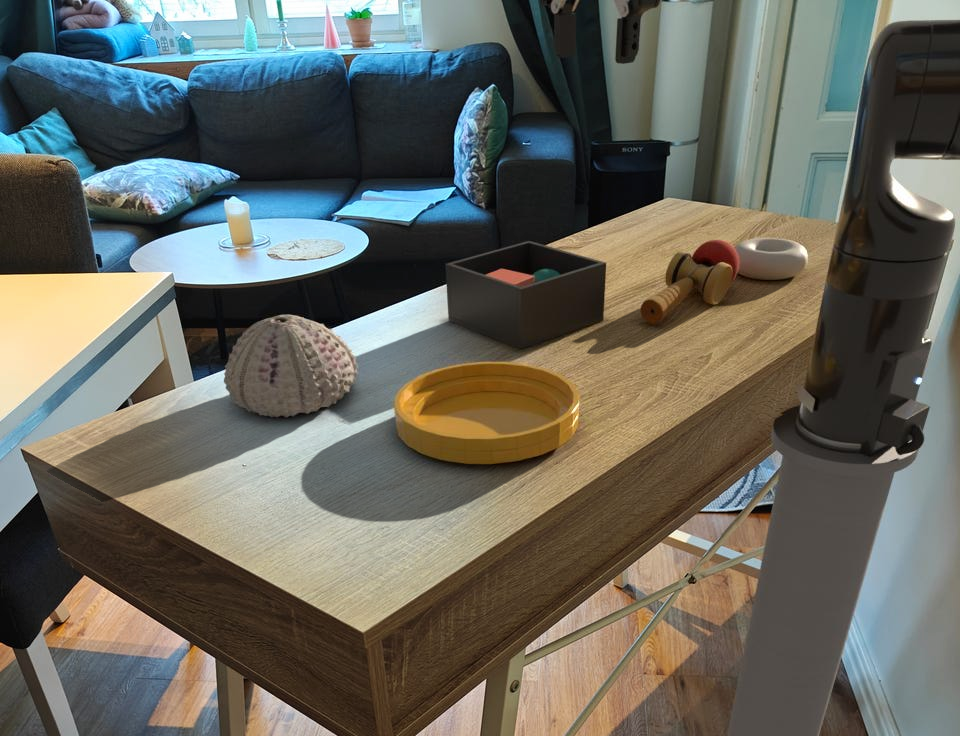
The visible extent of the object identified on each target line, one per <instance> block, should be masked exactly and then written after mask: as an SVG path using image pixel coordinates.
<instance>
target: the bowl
mask: <svg viewBox="0 0 960 736" xmlns="http://www.w3.org/2000/svg"><path fill="white" fill-rule="evenodd" d="M393 411H394V420H395V421H394V422H395V428H396V432H397V436H398V437H399V438H400V440H402V442H403V443H404V444H405V445H406V446H407V447H409V448H410V449H412V450H414V451H416V452H418V453H419V454H422V455H424V456H426V457H430V458H433V459H437V460H440V461H445V462H451V463H459V464H466V465H494V464H496V465H497V464H503V463H511V462H512V463H513V462H517V461H518V462H519V461H523V460H527V459H532V458H534V457H538V456H542V455H544V454H547V453H549V452H552V451H553V450H555V449H556V450H557V449H558V448H560V447H561V446H563V445H564V444H565V443H566V442H568V441H569V440H571V439H572V437H573V436H574V434H575V433H576V432H577V430H578V428H579V421H580V420H579V419H580V418H579V417H580V392H579V390H578V388H577V387H576V385H575V384H574V382H572V381H571V380H569V379H568V378H566V377H565V376H563V374H560V373H558V372H555V371H552V370H551V369H547V368H544V367H541V366H537V365H531V364H527V363H522V362H521V363H520V362H510V361H478V362H468V363H460V364H458V363H457V364H453V365H450V366H444V367H439V368H437V369H433V370H431V371H428V372H425V373H422V374H420V375H418V376H416V377H415V378H413V379H411V380H409V381H408V382H406V383H405V384H404V385H403V386H402V387H401V388H400V389H399V390H398V391H397V393H396V395H395V398H394V399H393Z"/></svg>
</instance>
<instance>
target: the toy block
mask: <svg viewBox="0 0 960 736" xmlns="http://www.w3.org/2000/svg"><path fill="white" fill-rule="evenodd" d="M486 275H487V276H490V277H493V278H496V279H499V280H502V281H505V282H508V283H510V284H513V285H516V286H519V287H523V286H526V285H529V284H533V283H534V282H535V277H534V276H533V275H528V274H524V273H519V272H515V271H511V270H506V269H499V270H497V271H494V272H491V273H489V274H486Z"/></svg>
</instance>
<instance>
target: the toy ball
mask: <svg viewBox="0 0 960 736" xmlns="http://www.w3.org/2000/svg"><path fill="white" fill-rule="evenodd" d="M558 275H561V274H559V273H558V272H557V271H555V270H552V269H542V270H539V271H537V272H535V273H534V274H533V276H534V277H535V282H534V283H536V282H539V281H542V280H546V279H549V278H552V277H555V276H558Z"/></svg>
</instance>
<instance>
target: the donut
mask: <svg viewBox="0 0 960 736" xmlns="http://www.w3.org/2000/svg"><path fill="white" fill-rule="evenodd" d="M733 247H734V248H735V250H736V251H737V254H738V257H739V269H738V272H737V275H740V276H743V277H745V278H750V279H754V280H763V281H779V280H785V279H790V278H793V277H795V276H797V275H800V274H801V273H802V272H803V271H804V270H805V268H806V267H807V265H808V262H809V254H808V252H807V249H806V247H804V246H803V245H801V244H800V243H799V242H797V241H795V240H790V239H786V238H777V237H756V238H755V237H754V238H750V239H746V240H744V241H741V242H739V243H737V245H735V246H733Z"/></svg>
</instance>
